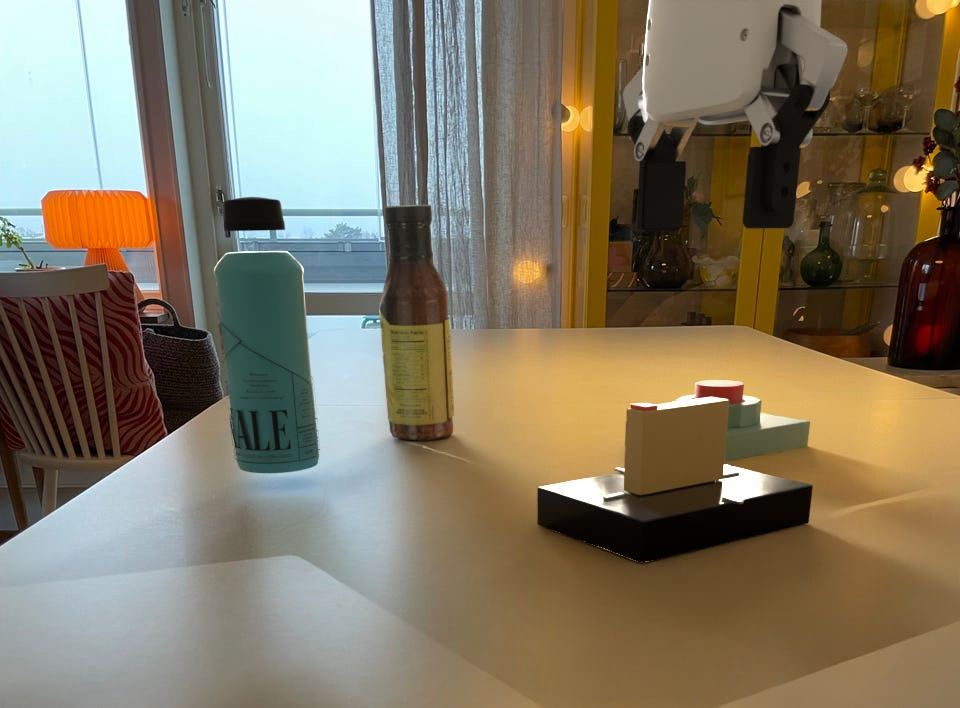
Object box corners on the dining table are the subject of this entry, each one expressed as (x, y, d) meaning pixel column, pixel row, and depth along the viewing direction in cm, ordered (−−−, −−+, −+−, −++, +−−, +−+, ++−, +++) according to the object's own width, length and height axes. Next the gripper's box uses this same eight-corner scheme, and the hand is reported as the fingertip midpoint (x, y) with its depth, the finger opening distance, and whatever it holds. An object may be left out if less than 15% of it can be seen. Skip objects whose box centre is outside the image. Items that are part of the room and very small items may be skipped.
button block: (722, 430, 91) (725, 386, 89) (807, 446, 83) (813, 399, 81) (624, 446, 85) (625, 399, 83) (706, 465, 77) (710, 414, 76)
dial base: (690, 491, 69) (692, 454, 68) (816, 525, 61) (821, 484, 60) (531, 523, 62) (531, 482, 61) (648, 567, 54) (650, 520, 53)
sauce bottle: (416, 428, 95) (406, 206, 87) (468, 434, 91) (462, 204, 84) (372, 439, 90) (358, 205, 82) (425, 446, 87) (415, 202, 79)
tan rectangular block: (705, 475, 63) (711, 392, 61) (723, 479, 62) (730, 395, 60) (623, 490, 60) (626, 404, 57) (640, 495, 58) (644, 407, 56)
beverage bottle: (315, 471, 78) (292, 198, 70) (330, 489, 72) (306, 194, 64) (233, 478, 76) (199, 199, 68) (241, 498, 70) (206, 195, 62)
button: (717, 399, 85) (719, 378, 84) (752, 404, 82) (754, 383, 81) (684, 403, 83) (685, 382, 82) (718, 409, 80) (720, 387, 79)
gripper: (921, -167, 46) (869, 226, 52) (687, -69, 60) (669, 231, 66) (803, -196, 42) (764, 227, 49) (585, -85, 57) (577, 232, 63)
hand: (709, 229), depth 58 cm, fingers open, 9 cm apart
